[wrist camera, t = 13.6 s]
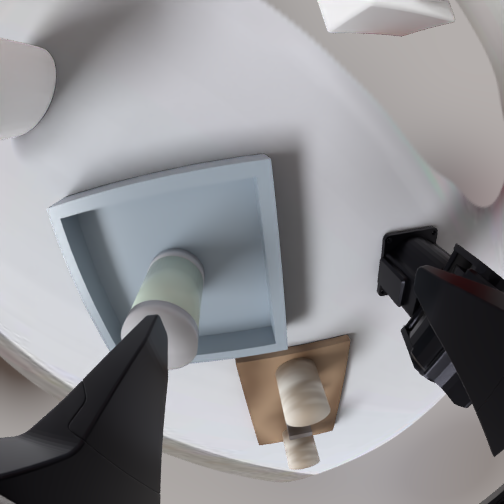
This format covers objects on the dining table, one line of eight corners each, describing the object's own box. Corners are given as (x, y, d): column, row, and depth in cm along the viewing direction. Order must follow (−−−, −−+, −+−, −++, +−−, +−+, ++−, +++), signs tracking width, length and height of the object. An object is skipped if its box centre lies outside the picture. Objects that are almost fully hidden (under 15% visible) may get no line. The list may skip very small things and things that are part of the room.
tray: (263, 153, 19) (270, 158, 16) (281, 327, 26) (287, 349, 24) (65, 197, 18) (46, 208, 16) (126, 346, 26) (119, 367, 23)
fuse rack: (347, 334, 28) (372, 383, 22) (331, 425, 38) (342, 460, 31) (235, 356, 27) (240, 412, 21) (258, 440, 37) (263, 476, 31)
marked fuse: (199, 244, 21) (187, 309, 14) (209, 294, 23) (204, 367, 16) (143, 252, 21) (109, 315, 14) (157, 299, 23) (136, 370, 15)
